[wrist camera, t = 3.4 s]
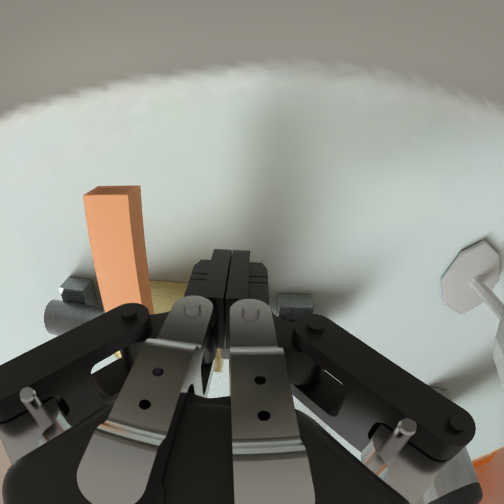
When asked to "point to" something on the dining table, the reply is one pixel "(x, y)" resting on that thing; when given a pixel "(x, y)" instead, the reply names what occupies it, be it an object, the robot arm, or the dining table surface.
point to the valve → (163, 297)
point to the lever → (118, 245)
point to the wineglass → (476, 289)
